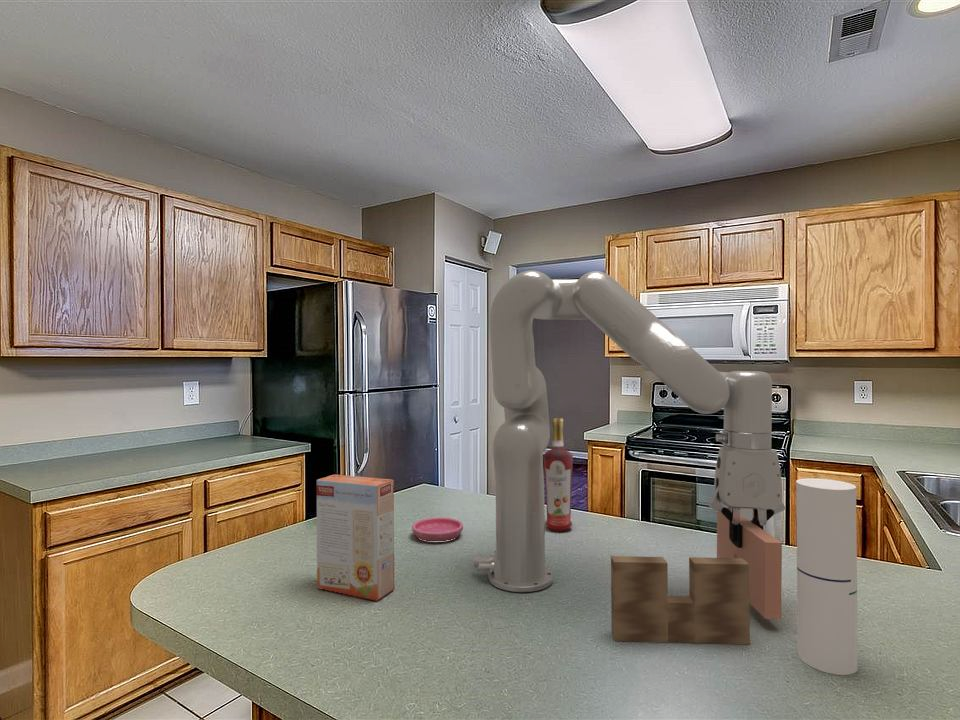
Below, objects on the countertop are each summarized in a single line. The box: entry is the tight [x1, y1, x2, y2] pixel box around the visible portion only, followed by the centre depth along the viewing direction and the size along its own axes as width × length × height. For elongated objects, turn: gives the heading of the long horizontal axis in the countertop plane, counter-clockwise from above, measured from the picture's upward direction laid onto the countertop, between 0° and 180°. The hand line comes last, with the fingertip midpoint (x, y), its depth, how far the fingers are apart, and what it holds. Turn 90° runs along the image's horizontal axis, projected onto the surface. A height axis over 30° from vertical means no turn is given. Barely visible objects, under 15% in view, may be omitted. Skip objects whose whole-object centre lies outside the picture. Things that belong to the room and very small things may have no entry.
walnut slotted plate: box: [610, 555, 751, 645], centre depth 82 cm, size 20×2×12 cm, turn 86°
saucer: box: [411, 517, 464, 541], centre depth 130 cm, size 12×12×3 cm
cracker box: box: [316, 474, 395, 602], centre depth 100 cm, size 14×6×21 cm, turn 65°
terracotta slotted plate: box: [716, 511, 783, 620], centre depth 94 cm, size 20×2×12 cm, turn 176°
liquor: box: [543, 417, 574, 533], centre depth 136 cm, size 7×7×28 cm
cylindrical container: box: [795, 477, 859, 676], centre depth 76 cm, size 7×7×25 cm
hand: (745, 544), depth 94 cm, fingers closed on terracotta slotted plate, 2 cm apart
